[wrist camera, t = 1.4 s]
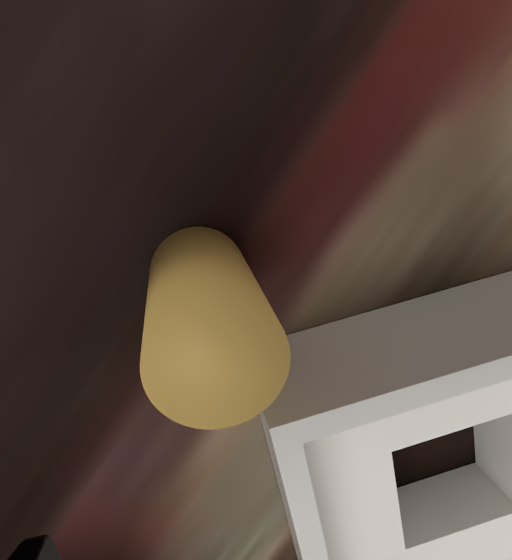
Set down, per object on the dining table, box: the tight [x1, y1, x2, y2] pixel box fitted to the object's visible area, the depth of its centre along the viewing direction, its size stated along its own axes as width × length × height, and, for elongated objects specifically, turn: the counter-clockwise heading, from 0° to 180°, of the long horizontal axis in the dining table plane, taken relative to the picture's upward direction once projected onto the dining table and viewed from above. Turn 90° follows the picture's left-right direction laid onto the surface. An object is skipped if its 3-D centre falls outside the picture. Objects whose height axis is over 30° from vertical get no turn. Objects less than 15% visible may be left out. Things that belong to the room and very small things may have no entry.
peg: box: [140, 227, 291, 430], centre depth 16 cm, size 4×4×8 cm
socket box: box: [260, 271, 512, 560], centre depth 22 cm, size 16×16×6 cm
